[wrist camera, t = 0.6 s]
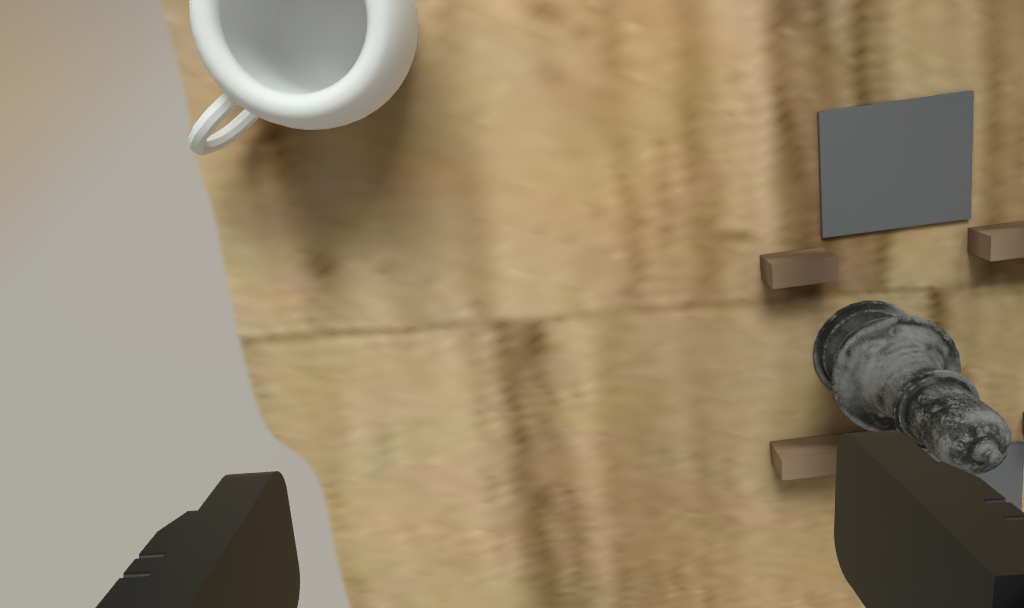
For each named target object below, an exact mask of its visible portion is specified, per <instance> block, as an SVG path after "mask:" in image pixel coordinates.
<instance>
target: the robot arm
mask: <svg viewBox="0 0 1024 608" xmlns="http://www.w3.org/2000/svg"><path fill="white" fill-rule="evenodd" d="M834 539H835V548H836V553H837V557H838V561H839V564H840V567H841V570H842V572H843V574H844V576H845V578H846V580H847V581H848V583H849V584H850V586H851V587H852V588H853V590H854V591H855V593H856V594H857V596H858V597H859V598H860V600H861V601H862V603H863V604H864V605H865V607H866V608H1024V513H1023V512H1022V511H1021V510H1020V509H1018V508H1017V507H1016V506H1015V505H1013V504H1012V503H1011V502H1006V500H1005V497H1003V496H1002V495H1001V494H1000V493H998V492H997V491H996V490H995V489H993V488H992V487H991V486H990V485H988V484H987V483H986V482H985V481H983V480H982V479H981V478H979V477H977V476H975V475H973V474H970V473H968V472H966V471H964V470H961V469H959V468H957V467H955V466H952V465H950V464H948V463H946V462H937V461H936V460H935V459H934V458H932V457H931V456H930V455H929V454H928V453H927V452H925V451H924V450H923V449H922V448H921V447H919V446H918V445H917V444H916V443H915V442H914V441H912V440H911V439H910V438H909V437H908V436H906V435H905V434H904V433H903V432H901V431H898V430H894V431H879V432H864V433H850V434H844V435H842V437H841V438H840V440H839V443H838V447H837V462H836V493H835V523H834ZM299 590H300V573H299V563H298V557H297V551H296V545H295V538H294V532H293V526H292V519H291V513H290V506H289V501H288V494H287V488H286V484H285V480H284V478H283V476H282V474H281V473H280V472H278V471H276V472H260V473H245V474H231V475H226V476H224V477H223V478H222V479H221V481H220V482H219V483H218V485H217V486H216V487H215V489H214V490H213V492H212V493H211V494H210V495H209V497H208V498H207V499H206V501H205V502H204V503H203V505H202V506H201V507H200V509H199V510H198V511H187V512H186V513H184V514H183V515H182V516H180V517H179V518H177V519H176V520H174V521H173V522H171V523H170V524H168V525H167V526H165V527H164V528H162V529H161V530H159V531H158V532H157V533H156V534H155V535H154V537H153V538H152V539H151V540H150V542H149V543H148V544H147V545H146V546H145V548H144V549H143V550H142V551H141V553H140V554H139V559H135V560H134V561H133V562H132V564H131V565H130V566H129V567H128V568H127V570H126V571H125V572H124V577H123V578H119V580H118V581H117V582H116V583H115V585H114V586H113V587H112V588H111V589H110V591H109V592H108V593H107V594H106V596H105V597H104V598H103V599H102V601H101V602H100V603H99V604H98V605H97V607H96V608H297V606H298V600H299Z"/></svg>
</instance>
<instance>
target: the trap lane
mask: <svg viewBox="0 0 1024 608" xmlns="http://www.w3.org/2000/svg"><path fill="white" fill-rule="evenodd" d="M968 252H969V253H971V254H974V255H976V256H978V257H981V258H983V259H986V260H988V261H990V262H991V261H999V260H1007V259H1015V258H1023V257H1024V221H1018V222H1011V223H1003V224H995V225H988V226H980V227H972V228H968ZM760 264H761V279H762V280H764V281H765V282H766V283H767V284H768V285H769V286H770V287H771V288H772V289H779V288H787V287H795V286H803V285H811V284H818V283H826V282H834V281H838V280H837V256H835V255H834V254H832V253H831V252H829V251H827V250H826V249H824V248H823V247H819V248H811V249H803V250H796V251H788V252H780V253H772V254H765V255H760ZM864 432H873V431H870V430H867V431H858V432H849V433H841V434H832V435H823V436H815V437H806V438H797V439H789V440H780V441H771V442H770V449H771V462H772V464H773V466H774V467H775V469H776V471H777V472H778V474H779V476H780V477H781V479H782V481H784V480H793V479H802V478H811V477H820V476H829V475H836V462H837V447H838V443H839V440H840V438H841V437H842V435H844V434H850V433H864ZM1023 434H1024V412H1023Z"/></svg>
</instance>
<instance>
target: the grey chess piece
mask: <svg viewBox="0 0 1024 608" xmlns="http://www.w3.org/2000/svg"><path fill="white" fill-rule="evenodd" d="M813 360H814V366H815V369H816V371H817V373H818V375H819V377H820V379H821V380H822V381H823V382H824V384H825V385H826V386H827V387H828V388H829V389H830V390H832V391H833V395H834V398H835V400H836V402H837V404H838V406H839V408H840V410H841V411H842V412H843V413H844V414H845V416H846V417H847V418H848V419H849V420H850V421H851V422H853V423H855V424H856V425H858V426H860V427H862V428H863V429H866V430H870V431H873V432H879V431H894V430H898V431H901V432H903V433H904V434H905V435H906V436H908V437H909V438H910V439H911V440H912V441H914V442H915V443H916V444H917V445H918V446H919V447H921V448H924V449H928V450H929V451H930V452H931V453H932V454H933V455H934V456H935V457H937V458H938V459H939V460H940V461H941V462H946V463H948V464H950V465H952V466H955V467H957V468H959V469H961V470H964V471H966V472H968V473H970V474H973V475H977V474H981V473H986V472H988V471H991V470H993V469H995V468H996V467H997V466H999V465H1000V464H1001V463H1002V462H1003V461H1004V459H1005V458H1006V456H1007V454H1008V452H1009V450H1010V445H1011V431H1010V429H1009V427H1008V425H1007V423H1006V422H1005V420H1004V419H1003V418H1002V417H1001V416H1000V415H999V413H997V412H996V411H994V410H993V409H992V408H990V407H989V406H988V405H986V404H985V403H984V402H982V401H981V400H980V398H979V394H978V392H977V390H976V388H975V386H974V385H973V384H972V383H971V382H970V381H969V380H968V379H967V378H966V377H964V376H962V375H961V374H960V371H961V365H960V357H959V352H958V350H957V348H956V346H955V344H954V341H953V340H952V339H951V337H950V336H949V335H948V334H947V333H946V332H945V331H944V330H943V329H942V328H941V327H939V326H937V325H935V324H934V323H932V322H930V321H929V320H926V319H922V318H918V317H914V316H908V315H907V314H906V313H905V312H904V311H902V310H901V309H899V308H897V307H896V306H894V305H892V304H889V303H885V302H881V301H862V302H858V303H854V304H851V305H849V306H847V307H845V308H843V309H841V310H839V311H837V312H836V313H835V314H834V315H833V316H832V317H830V318H829V319H828V320H827V321H826V323H825V324H824V325H823V327H822V328H821V329H820V331H819V333H818V336H817V338H816V341H815V343H814V351H813Z"/></svg>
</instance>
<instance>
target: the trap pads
mask: <svg viewBox="0 0 1024 608" xmlns="http://www.w3.org/2000/svg"><path fill="white" fill-rule="evenodd" d="M973 100H974V91H964V92H957V93H950V94H943V95H936V96H929V97H922V98H915V99H908V100H900V101H893V102H886V103H879V104H872V105H865V106H858V107H851V108H844V109H836V110H829V111H822V112H818V141H819V173H820V205H821V237H822V238H827V237H834V236H842V235H850V234H857V233H865V232H873V231H880V230H888V229H896V228H903V227H911V226H918V225H926V224H934V223H941V222H949V221H957V220H964V219H971V187H972V143H973ZM928 454H929V455H930V456H931V457H932V458H934V459H935V460H936V461H937V462H941V461H940V460H939V459H938V458H937V457H935V456H934V455H933V454H932V453H931V452H929V453H928ZM1023 463H1024V443H1023V442H1017V443H1011V445H1010V450H1009V452H1008V454H1007V456H1006V458H1005V459H1004V461H1003V462H1002V463H1001V464H1000V465H999V466H997V467H996V468H995V469H993V470H991V471H988V472H986V473H981V474H977V475H975V476H977V477H979V478H981V479H982V480H983V481H985V482H986V483H987V484H988V485H990V486H991V487H992V488H993V489H995V490H996V491H997V492H998V493H1000V494H1001V495H1002V496H1003V497H1005V500H1006V502H1011V503H1012V504H1013V505H1015V506H1016V507H1017V508H1018V509H1020V510H1021V506H1022V485H1023Z"/></svg>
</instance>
